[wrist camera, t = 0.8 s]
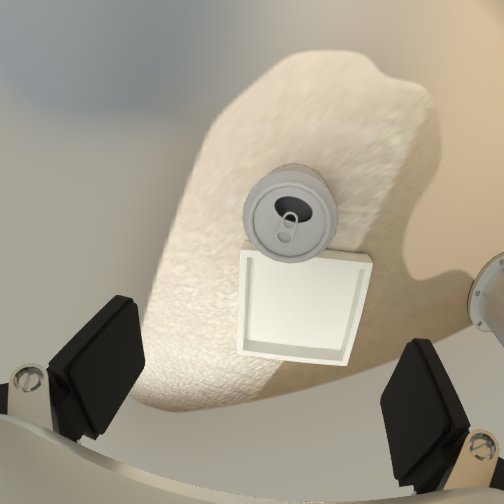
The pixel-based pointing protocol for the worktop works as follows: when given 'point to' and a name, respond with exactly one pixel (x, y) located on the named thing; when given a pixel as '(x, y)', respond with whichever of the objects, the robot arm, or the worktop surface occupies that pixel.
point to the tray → (301, 305)
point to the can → (290, 214)
